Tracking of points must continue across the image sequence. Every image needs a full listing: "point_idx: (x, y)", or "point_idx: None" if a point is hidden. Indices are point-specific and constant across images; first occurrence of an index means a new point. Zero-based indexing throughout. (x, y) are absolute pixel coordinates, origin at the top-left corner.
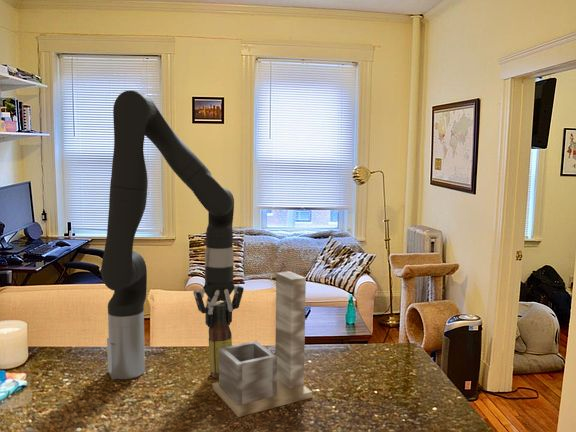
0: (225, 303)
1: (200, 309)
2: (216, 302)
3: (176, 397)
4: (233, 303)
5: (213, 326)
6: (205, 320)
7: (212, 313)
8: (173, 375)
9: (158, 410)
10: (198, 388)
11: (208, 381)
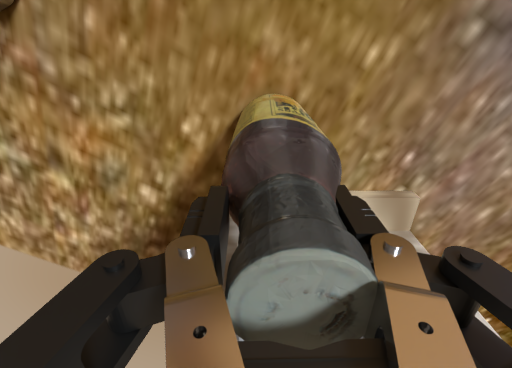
0: (366, 328)
1: (97, 332)
2: (306, 265)
3: (128, 191)
4: (457, 300)
5: (236, 221)
6: (188, 214)
7: (238, 241)
8: (132, 57)
9: (85, 225)
10: (188, 173)
11: (223, 149)
